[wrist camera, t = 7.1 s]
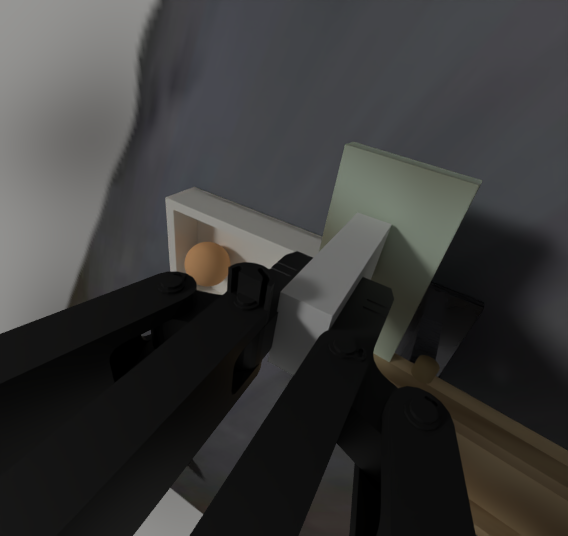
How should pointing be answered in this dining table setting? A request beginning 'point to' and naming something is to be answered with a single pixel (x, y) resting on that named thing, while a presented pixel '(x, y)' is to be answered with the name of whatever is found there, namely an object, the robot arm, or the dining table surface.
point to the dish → (230, 232)
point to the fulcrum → (439, 325)
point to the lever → (462, 407)
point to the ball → (207, 263)
